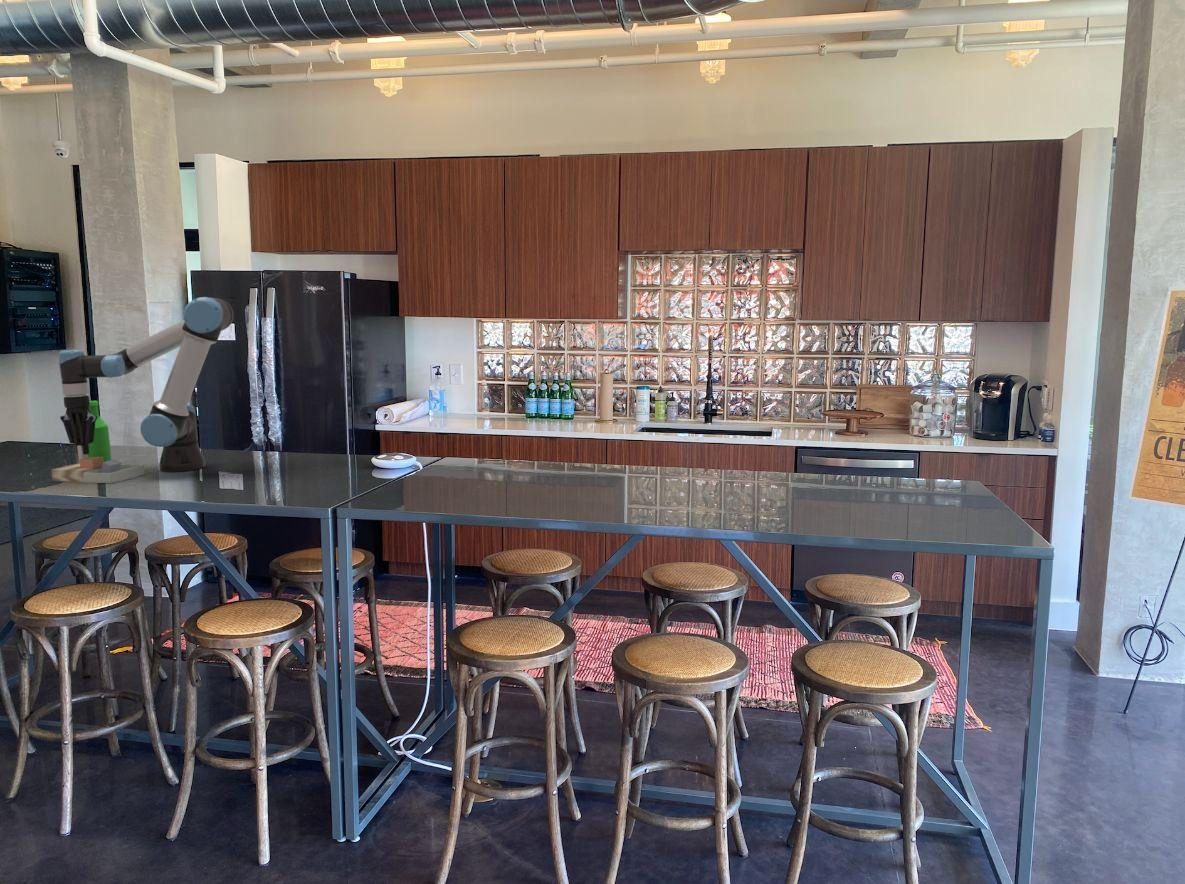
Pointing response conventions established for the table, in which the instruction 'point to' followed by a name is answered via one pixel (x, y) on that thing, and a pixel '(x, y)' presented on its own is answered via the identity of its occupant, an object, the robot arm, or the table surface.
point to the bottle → (99, 436)
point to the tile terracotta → (91, 462)
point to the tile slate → (110, 466)
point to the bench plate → (70, 473)
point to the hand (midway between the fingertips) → (84, 463)
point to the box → (114, 474)
